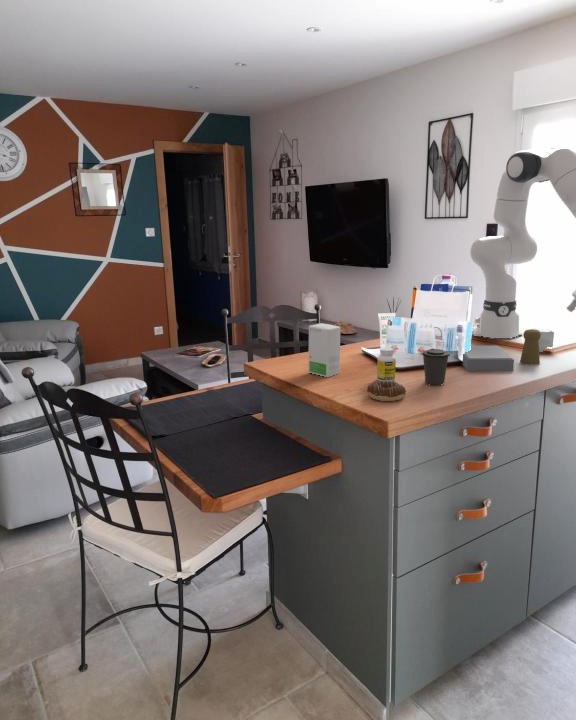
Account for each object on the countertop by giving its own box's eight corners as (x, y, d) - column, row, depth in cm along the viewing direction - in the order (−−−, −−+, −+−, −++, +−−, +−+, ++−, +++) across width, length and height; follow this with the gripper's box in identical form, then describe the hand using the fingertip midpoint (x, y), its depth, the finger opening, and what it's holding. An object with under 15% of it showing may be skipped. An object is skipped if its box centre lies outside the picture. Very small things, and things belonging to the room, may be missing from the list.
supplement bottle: (384, 383, 167) (384, 351, 164) (373, 379, 171) (373, 348, 169) (398, 380, 169) (399, 349, 167) (387, 376, 174) (388, 345, 171)
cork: (536, 360, 187) (539, 327, 184) (542, 365, 181) (545, 331, 178) (517, 360, 188) (520, 328, 185) (523, 365, 182) (525, 331, 179)
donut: (360, 400, 154) (360, 386, 153) (376, 389, 162) (376, 376, 161) (396, 406, 148) (397, 392, 147) (411, 395, 156) (412, 381, 155)
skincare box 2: (529, 348, 203) (531, 328, 201) (547, 348, 202) (549, 328, 200) (534, 352, 197) (536, 331, 195) (552, 352, 196) (554, 331, 195)
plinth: (456, 356, 194) (457, 345, 193) (498, 356, 193) (499, 345, 192) (467, 370, 177) (467, 358, 176) (513, 370, 176) (514, 358, 175)
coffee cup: (430, 377, 172) (431, 345, 169) (454, 382, 166) (455, 349, 163) (415, 383, 166) (416, 350, 163) (439, 389, 160) (441, 355, 158)
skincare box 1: (307, 373, 180) (306, 326, 176) (321, 369, 184) (320, 322, 180) (328, 378, 174) (327, 329, 170) (341, 373, 179) (341, 325, 175)
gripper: (589, 271, 185) (555, 300, 189) (618, 278, 165) (580, 311, 169) (602, 284, 186) (568, 313, 189) (632, 293, 166) (593, 325, 170)
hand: (574, 312), depth 179 cm, fingers open, 8 cm apart
